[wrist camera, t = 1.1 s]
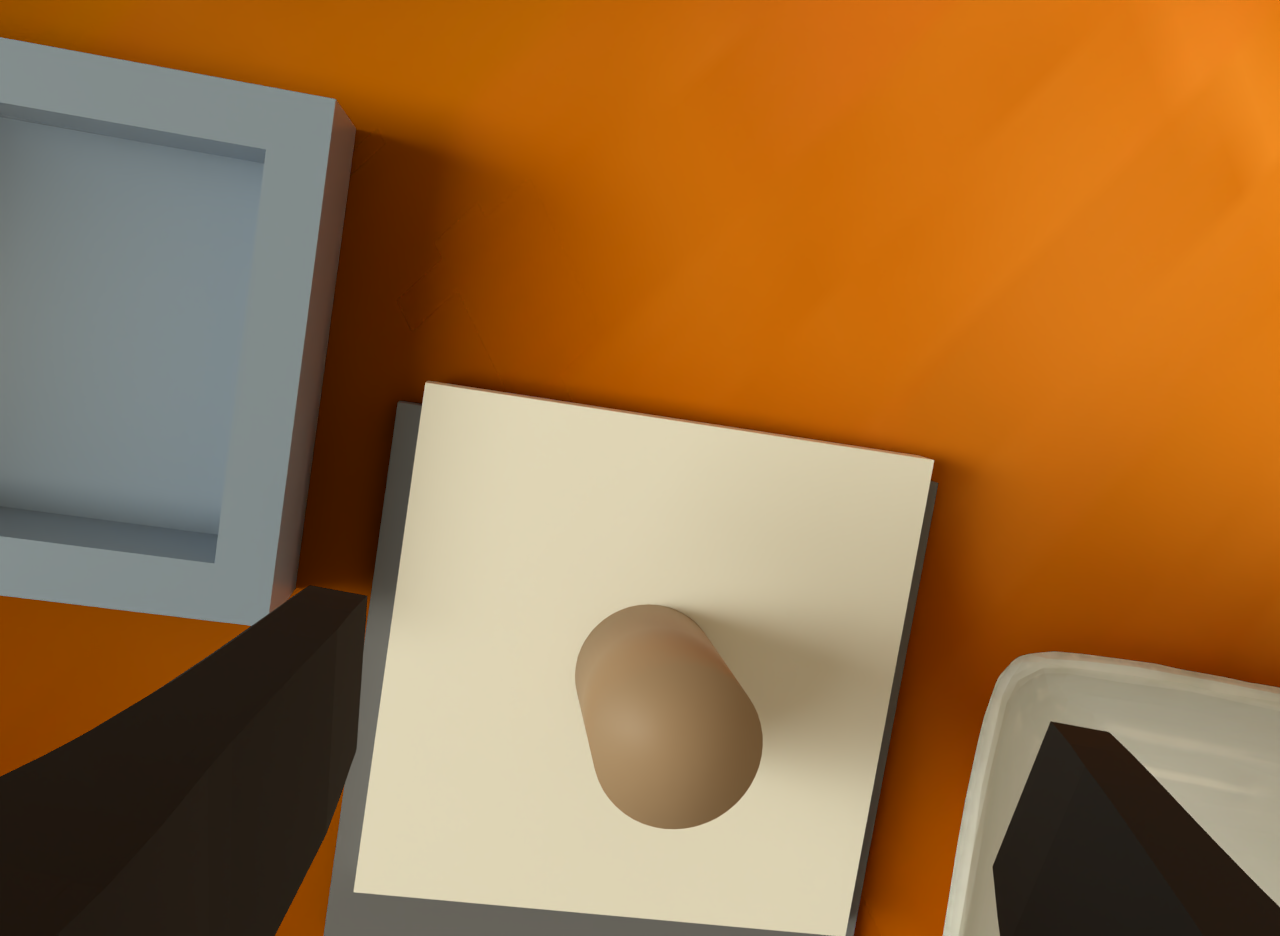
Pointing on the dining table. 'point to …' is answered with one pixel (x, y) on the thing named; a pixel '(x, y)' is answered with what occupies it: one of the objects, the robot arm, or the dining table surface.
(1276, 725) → the square plate
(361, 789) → the mat
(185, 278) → the light blue square dish
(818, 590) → the lid
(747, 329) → the dining table surface
